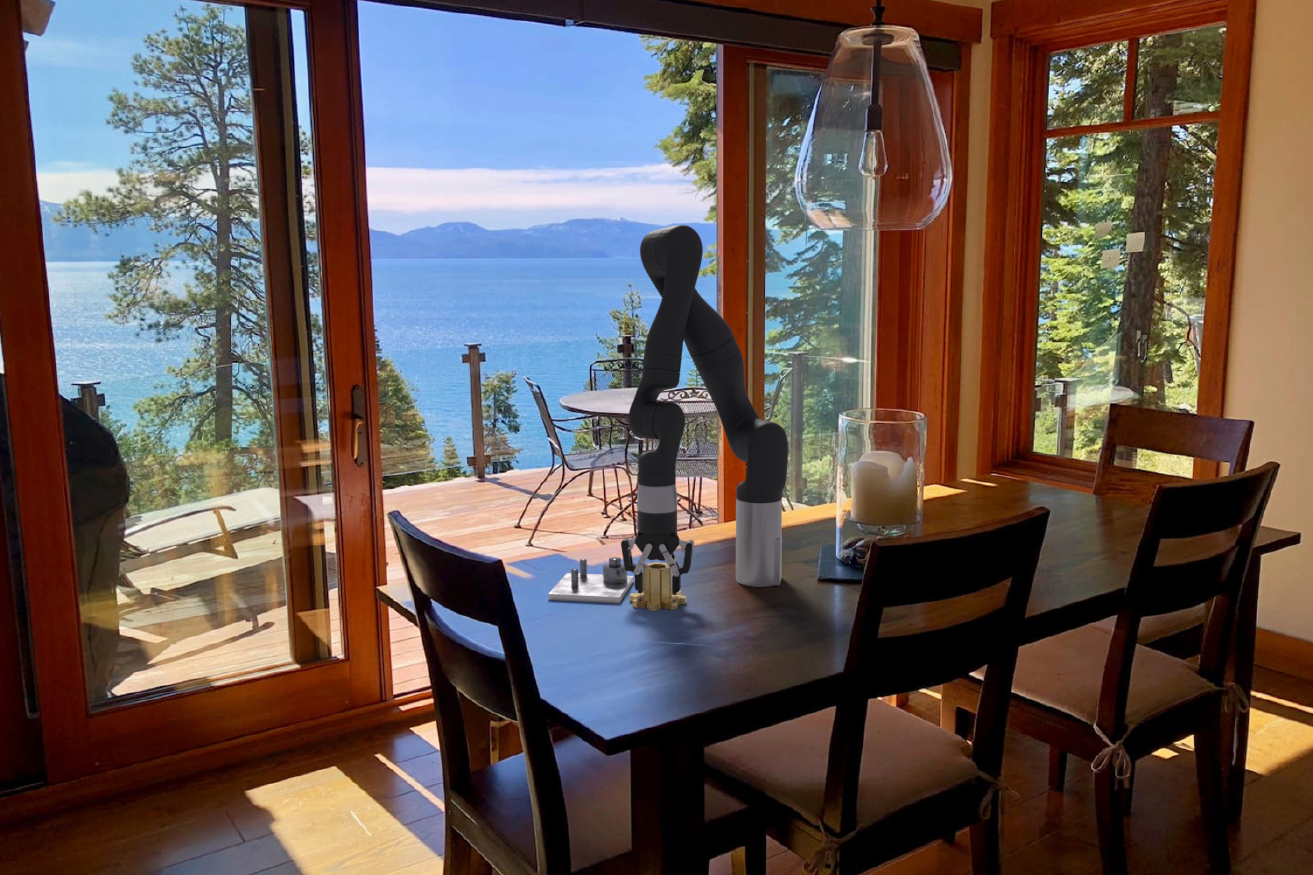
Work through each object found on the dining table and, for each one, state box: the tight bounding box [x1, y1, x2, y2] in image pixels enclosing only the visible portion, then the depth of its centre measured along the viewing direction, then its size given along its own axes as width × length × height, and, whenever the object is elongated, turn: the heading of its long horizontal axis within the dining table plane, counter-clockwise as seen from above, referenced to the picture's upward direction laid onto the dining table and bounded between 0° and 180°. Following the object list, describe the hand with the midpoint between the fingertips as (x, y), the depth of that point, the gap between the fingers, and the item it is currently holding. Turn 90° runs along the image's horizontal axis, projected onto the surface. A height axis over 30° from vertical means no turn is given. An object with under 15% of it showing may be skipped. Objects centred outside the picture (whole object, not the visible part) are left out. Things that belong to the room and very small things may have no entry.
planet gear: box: [628, 561, 687, 612], centre depth 184 cm, size 11×11×7 cm
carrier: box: [547, 556, 635, 604], centre depth 191 cm, size 14×14×6 cm
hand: (657, 592), depth 184 cm, fingers open, 6 cm apart
